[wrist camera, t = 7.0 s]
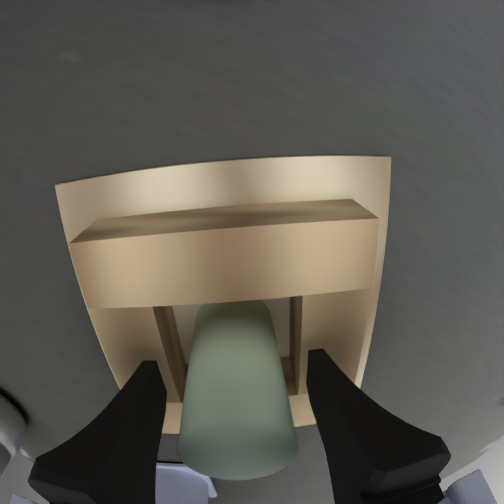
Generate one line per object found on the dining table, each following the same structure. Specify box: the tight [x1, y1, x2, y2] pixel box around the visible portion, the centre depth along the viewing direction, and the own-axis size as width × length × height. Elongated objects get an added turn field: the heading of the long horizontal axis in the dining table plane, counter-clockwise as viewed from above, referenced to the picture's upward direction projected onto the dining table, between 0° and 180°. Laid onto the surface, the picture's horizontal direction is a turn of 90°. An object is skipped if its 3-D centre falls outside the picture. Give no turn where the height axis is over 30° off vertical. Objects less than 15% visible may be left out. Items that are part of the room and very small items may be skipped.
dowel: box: [177, 300, 299, 480], centre depth 12 cm, size 4×4×8 cm
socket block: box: [55, 155, 391, 434], centre depth 15 cm, size 16×16×3 cm
